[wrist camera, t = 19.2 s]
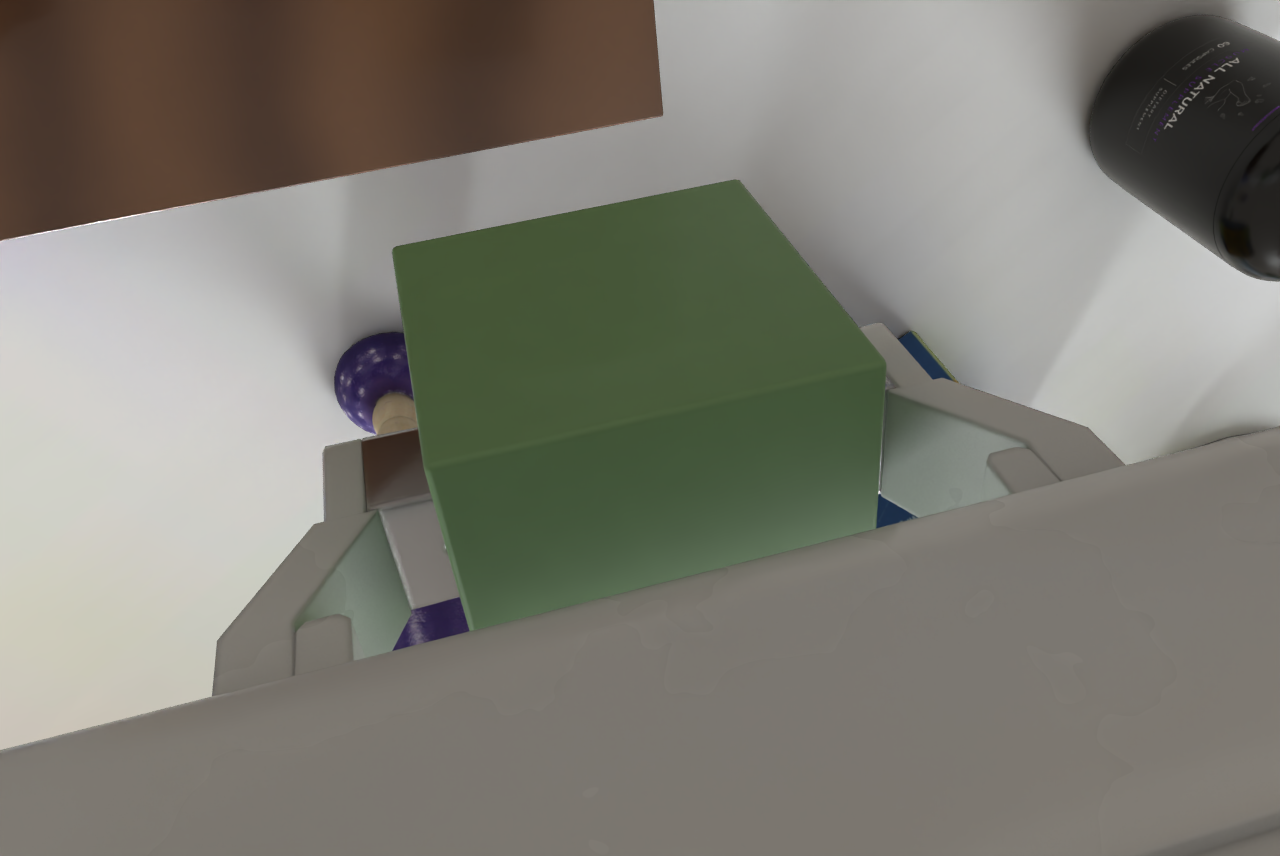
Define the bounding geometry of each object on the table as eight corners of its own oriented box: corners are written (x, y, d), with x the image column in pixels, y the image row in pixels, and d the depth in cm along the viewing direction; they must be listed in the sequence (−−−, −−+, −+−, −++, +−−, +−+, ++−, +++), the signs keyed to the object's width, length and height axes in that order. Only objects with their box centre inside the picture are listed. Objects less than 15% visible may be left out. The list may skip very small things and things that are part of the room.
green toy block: (460, 514, 18) (506, 764, 14) (390, 245, 14) (423, 468, 11) (748, 447, 18) (869, 665, 14) (739, 176, 15) (890, 361, 11)
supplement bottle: (1119, 6, 38) (1379, 123, 29) (1273, 13, 40) (1564, 126, 31) (1057, 185, 42) (1268, 340, 33) (1199, 185, 44) (1439, 332, 35)
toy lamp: (424, 304, 38) (481, 643, 25) (487, 393, 41) (568, 739, 28) (310, 366, 39) (308, 732, 26) (381, 450, 42) (411, 818, 29)
